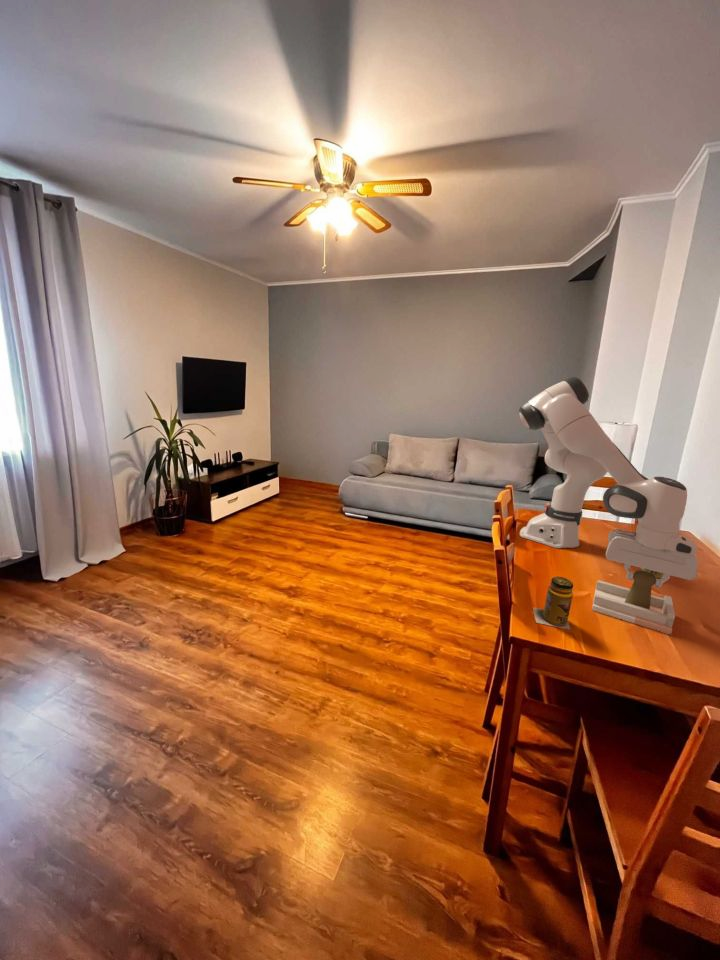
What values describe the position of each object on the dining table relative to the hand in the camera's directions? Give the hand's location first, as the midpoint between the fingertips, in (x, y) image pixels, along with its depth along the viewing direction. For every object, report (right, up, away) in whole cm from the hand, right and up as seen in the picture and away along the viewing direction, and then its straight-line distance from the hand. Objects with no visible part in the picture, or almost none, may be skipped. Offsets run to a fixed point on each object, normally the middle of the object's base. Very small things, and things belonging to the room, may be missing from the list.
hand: (643, 582), depth 107 cm
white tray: (-1, -9, +3) cm, 10 cm away
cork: (0, -8, +2) cm, 8 cm away
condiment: (-27, -10, -2) cm, 29 cm away
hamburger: (+21, -4, +25) cm, 33 cm away
